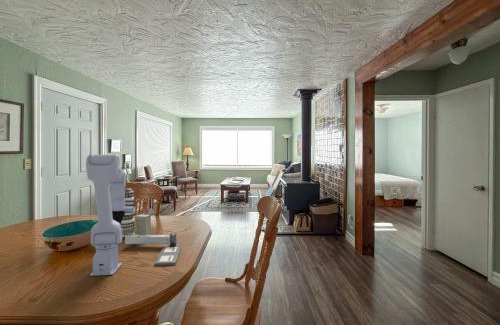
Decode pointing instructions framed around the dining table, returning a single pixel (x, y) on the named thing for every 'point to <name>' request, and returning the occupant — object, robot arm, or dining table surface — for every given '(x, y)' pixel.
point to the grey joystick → (173, 241)
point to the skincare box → (143, 225)
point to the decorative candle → (128, 214)
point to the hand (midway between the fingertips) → (118, 227)
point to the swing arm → (147, 239)
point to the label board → (168, 256)
